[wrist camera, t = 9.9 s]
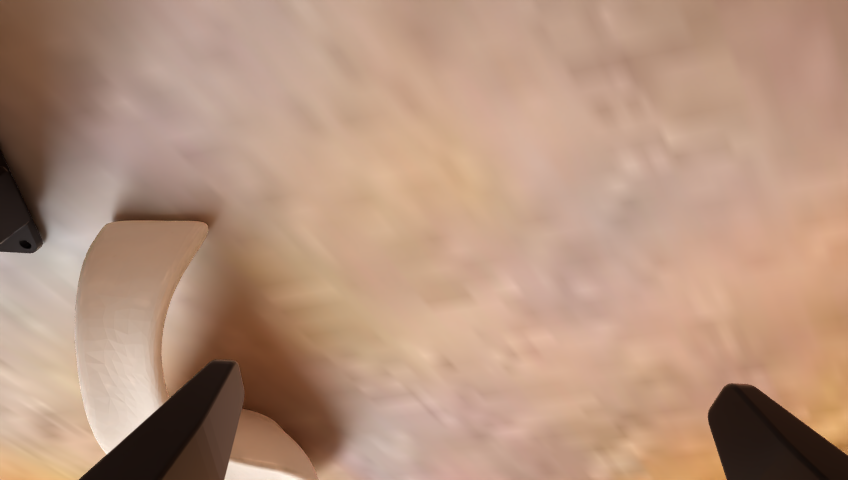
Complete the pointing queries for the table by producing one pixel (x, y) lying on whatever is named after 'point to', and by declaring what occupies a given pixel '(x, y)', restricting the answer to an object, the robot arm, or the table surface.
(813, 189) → the table surface
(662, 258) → the table surface
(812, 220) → the table surface
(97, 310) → the spoon rest
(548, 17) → the table surface
